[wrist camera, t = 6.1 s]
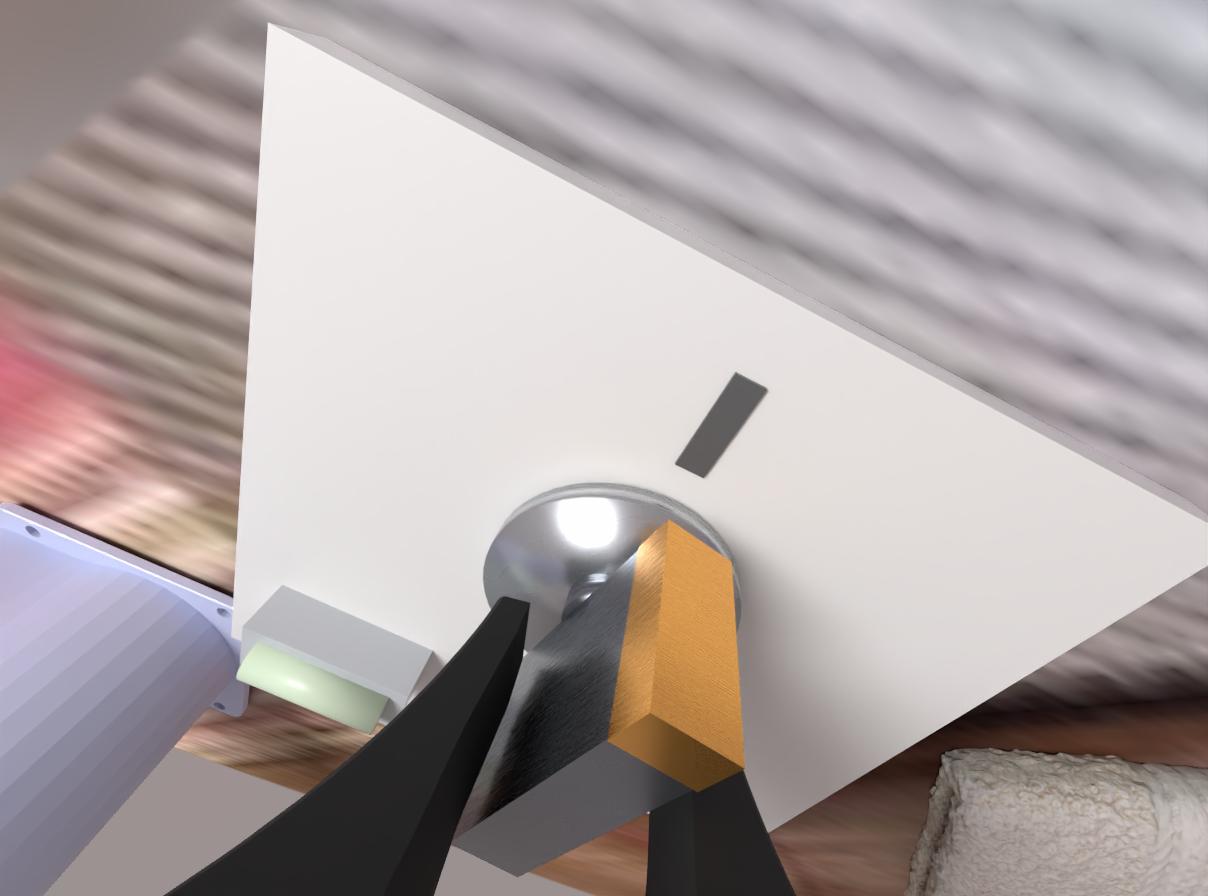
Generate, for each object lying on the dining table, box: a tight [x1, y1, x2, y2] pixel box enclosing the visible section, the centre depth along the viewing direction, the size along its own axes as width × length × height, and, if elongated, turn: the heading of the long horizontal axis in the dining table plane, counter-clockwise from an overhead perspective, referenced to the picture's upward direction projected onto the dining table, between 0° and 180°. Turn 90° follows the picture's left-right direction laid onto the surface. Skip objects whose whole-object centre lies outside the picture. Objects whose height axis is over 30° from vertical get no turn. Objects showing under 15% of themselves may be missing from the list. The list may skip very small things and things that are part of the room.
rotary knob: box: [451, 483, 745, 877], centre depth 11 cm, size 7×6×5 cm
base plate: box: [231, 23, 1208, 833], centre depth 14 cm, size 20×18×4 cm
